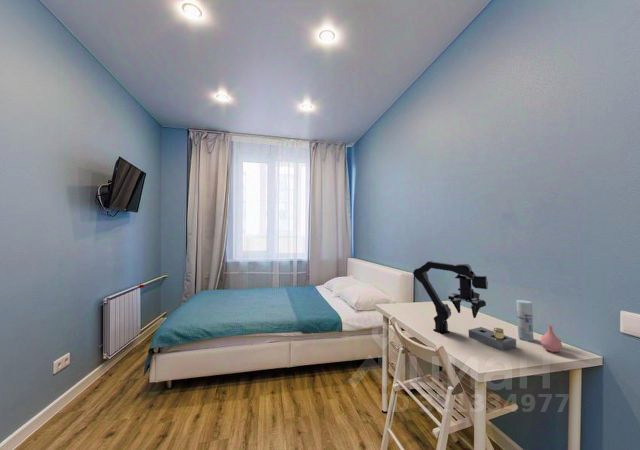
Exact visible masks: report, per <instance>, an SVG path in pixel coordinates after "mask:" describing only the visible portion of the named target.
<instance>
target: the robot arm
mask: <svg viewBox="0 0 640 450" xmlns="http://www.w3.org/2000/svg"><path fill="white" fill-rule="evenodd" d="M431 269H432V270H433V269H435V270H442V271H447V272H453V273H454V274H457V275H456V276H455V277H454V278H455V279H457V280H459V288H457V290H458V291H459V293H454V292H453V293H449V294H448V300H449V301H450V302H451V303H452V304H453V306H454V308H455V310H456V311H457V313H458V314H460V313H461V303H462V302H463V301H464V302H466V303H471V307H470V308H471V313H472V317H473V319H476V318H477V315H478V312H479V310H480V309H481V308H484V307H486V306H487V302H486V300H484V299H480V293H477V292H475V291H474V288H475V289H481V290H489V282H488V278H487V276H485V275H481V276H480V275H477V274H476V273H475V272H474V271H473V270H472V266H471V265H470V264H467V263H456V264H454V263H446V262H437V261H432V260H430V261H427V262H426V263H424V264H423V265H422V266H420V267H417V268H415V269H414V270H413V274H412V275H413V276H414V278H415V279H416V280H417V281H418V282H419V283H421V285H422V286H423V288H424V291H426V294H427V295H428V296H429V298H430V300H431V302H432V303H433V305H434V307H435V313H436V316H434V317H433V320H434V326H435V327H434V328H433V329H432V330H433V331H434V332H436V333H439V334H441V335H443V334H448V333H450V332H451V331H450V330H449V327H448V326H449V325H448V319H449V318H450V317H451V316H452V309H451V308H450V307H449V305H448V303H446V304H445V303H444V302H442V299H441V298H440V297H439V295H438V293H437V292H436V290H435V289H434V286H433V285H432V283H431V282H430V280H429V275H428V272H429V271H430V270H431ZM472 287H473V288H472Z"/></svg>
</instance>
